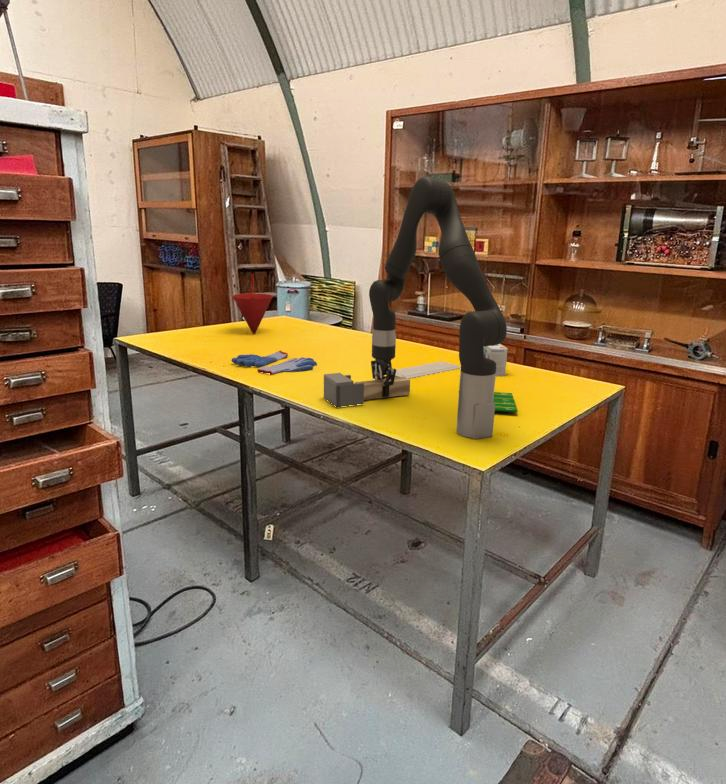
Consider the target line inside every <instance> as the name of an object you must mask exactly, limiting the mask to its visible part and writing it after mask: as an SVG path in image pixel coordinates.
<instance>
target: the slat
mask: <svg viewBox="0 0 726 784" xmlns="http://www.w3.org/2000/svg"><path fill="white" fill-rule="evenodd" d="M385 380H386V379H385ZM390 381H391V380H390ZM354 383H364V401H367V400H374V399H375V400H376V399H382V398H383V399H384V398H386V397H383V396H382V386H383V385H382V379H380V380H375V379H372V380H363V381H354ZM410 387H411V379H407V378H405V377H399V378H395V379H394V383H393V385H390V386H389V396H388V397H387V398H391V397H393V398H394V397H401V396H407V395H411V394H410V393H411V388H410Z"/></svg>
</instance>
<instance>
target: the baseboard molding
mask: <svg viewBox="0 0 726 784" xmlns="http://www.w3.org/2000/svg"><path fill="white" fill-rule="evenodd" d="M460 368H461V366H459V365H457V364H454V363H453V364H452V363H449V362H446V361H442V360H441V361H437V362H431V363H426V364H420V365H415V366H407V367H404V368H397V369H396V374H395V378H399V377H405V378H407V379H409V380H412V379H417V378H422V377H426V376H425V375H427V376H431V375H430V374H432V375H436V374H435V373H437V374H441V373H440V372H442V373H446V372H445V371H447V372H450V370H451V371H456V370H461V369H460ZM455 369H456V370H455ZM421 376H422V377H421ZM416 377H417V378H416ZM411 378H412V379H411Z"/></svg>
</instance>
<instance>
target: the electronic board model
mask: <svg viewBox="0 0 726 784" xmlns="http://www.w3.org/2000/svg"><path fill="white" fill-rule="evenodd" d="M493 402H495V412H507V413H508V412H509V413H518V407H517V404H516V402H515V398H514V395H513V393H512V392H499V391H498V392H497V391H496V392H495V391H494V399H493Z"/></svg>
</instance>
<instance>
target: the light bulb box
mask: <svg viewBox="0 0 726 784" xmlns="http://www.w3.org/2000/svg"><path fill="white" fill-rule="evenodd" d="M508 349H509V348H507V347H506V346H505V345H503V344H502V343H500V344H498V345H492V346H484V357H485V358H488V359H491V360H493V361H495V363H496V377H505V376H506V368H507V360H508Z"/></svg>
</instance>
